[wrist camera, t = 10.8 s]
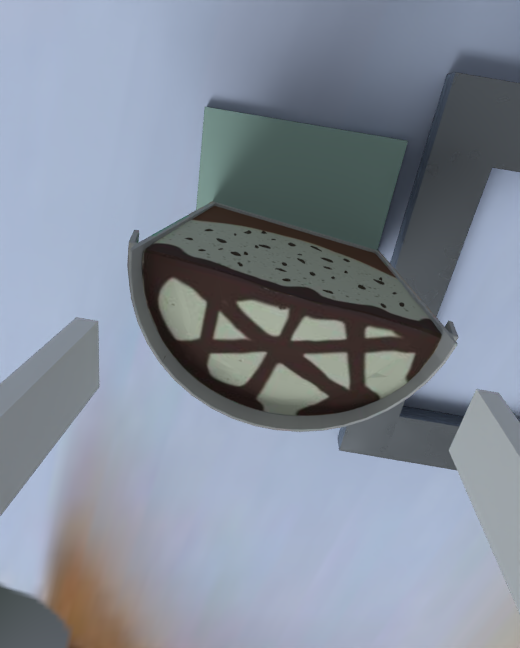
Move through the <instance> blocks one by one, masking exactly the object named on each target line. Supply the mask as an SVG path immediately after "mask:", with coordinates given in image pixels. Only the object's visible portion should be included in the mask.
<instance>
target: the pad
mask: <svg viewBox="0 0 520 648" xmlns="http://www.w3.org/2000/svg"><path fill="white" fill-rule="evenodd" d="M407 143H408V141H405V140H400V139H394V138H388V137H382V136H376V135H370V134H364V133H358V132H352V131H346V130H340V129H334V128H328V127H323V126H317V125H311V124H305V123H299V122H293V121H287V120H281V119H275V118H269V117H263V116H257V115H251V114H246V113H240V112H234V111H228V110H222V109H216V108H210V107H205V110H204V122H203V134H202V146H201V158H200V170H199V183H198V195H197V207H196V210H198V209H199V208H201V207H203V206H205V205H207V204H208V203H210V202H212V201H213V202H217V203H220V204H223V205H227V206H230V207H234V208H237V209H240V210H244V211H247V212H250V213H254V214H257V215H260V216H264V217H267V218H271V219H274V220H277V221H281V222H284V223H287V224H291V225H294V226H297V227H301V228H304V229H308V230H311V231H314V232H318V233H321V234H324V235H328V236H331V237H334V238H338V239H341V240H345V241H348V242H351V243H355V244H358V245H361V246H365V247H368V248H371V249H375V250H377V249H378V246H379V242H380V239H381V235H382V232H383V228H384V224H385V221H386V217H387V214H388V210H389V207H390V203H391V200H392V196H393V193H394V189H395V185H396V182H397V178H398V175H399V171H400V168H401V164H402V161H403V157H404V154H405V150H406V146H407Z"/></svg>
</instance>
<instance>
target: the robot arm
mask: <svg viewBox="0 0 520 648" xmlns="http://www.w3.org/2000/svg"><path fill="white" fill-rule="evenodd" d="M98 388H99V337H98V321H95V320H89V319H84V318H78V317H76V318H75V319H74V320H73V321H72V322H70V323H69V324H68V325H67V326H66V327H65V328H64V329H62V330H61V331H60V332H59V333H58V334H57V335H56V336H54V337H53V338H52V339H51V340H50V341H49V342H48V343H46V344H45V345H44V346H43V347H42V348H41V349H39V350H38V351H37V352H36V353H35V354H34V355H33V356H31V357H30V358H29V359H28V360H27V361H26V362H25V363H23V364H22V365H21V366H20V367H19V368H18V369H17V370H15V371H14V372H13V373H12V374H11V375H10V376H9V377H7V378H6V379H5V380H4V381H3V382H2V383H0V516H1V515H2V514H3V512H4V511H5V510H6V508H7V507H8V506H9V504H10V503H11V502H12V500H13V499H14V498H15V497H16V495H17V494H18V493H19V491H20V490H21V489H22V487H23V486H24V485H25V483H26V482H27V481H28V480H29V478H30V477H31V476H32V474H33V473H34V472H35V470H36V469H37V468H38V466H39V465H40V464H41V463H42V461H43V460H44V459H45V457H46V456H47V455H48V453H49V452H50V451H51V449H52V448H53V447H54V446H55V444H56V443H57V442H58V440H59V439H60V438H61V436H62V435H63V434H64V432H65V431H66V430H67V429H68V427H69V426H70V425H71V423H72V422H73V421H74V419H75V418H76V417H77V415H78V414H79V413H80V412H81V410H82V409H83V408H84V406H85V405H86V404H87V402H88V401H89V400H90V398H91V397H92V396H93V395H94V393H95V392H96V391H97V389H98ZM449 452H450V455H451V457H452V459H453V462H454V464H455V466H456V468H457V471H458V473H459V475H460V478H461V480H462V482H463V485H464V487H465V489H466V492H467V494H468V496H469V498H470V501H471V503H472V505H473V508H474V510H475V512H476V515H477V517H478V519H479V521H480V524H481V526H482V528H483V531H484V533H485V535H486V538H487V540H488V542H489V544H490V547H491V549H492V551H493V554H494V556H495V558H496V561H497V563H498V565H499V568H500V570H501V572H502V574H503V577H504V579H505V581H506V584H507V586H508V588H509V591H510V593H511V595H512V597H513V600H514V602H515V604H516V607H517V609H518V611H519V614H520V422H519V421H518V419H517V418H516V416H515V415H514V413H513V412H512V411H511V409H510V408H509V406H508V405H507V404H506V402H505V401H504V399H503V398H502V397H501V395H500V394H499V393H496V392H491V391H485V390H480V389H476V391H475V393H474V396H473V398H472V400H471V402H470V404H469V407H468V409H467V411H466V413H465V415H464V418H463V420H462V422H461V424H460V427H459V429H458V431H457V433H456V435H455V438H454V440H453V442H452V444H451V446H450V449H449Z"/></svg>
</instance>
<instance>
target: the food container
mask: <svg viewBox="0 0 520 648" xmlns="http://www.w3.org/2000/svg"><path fill="white" fill-rule="evenodd" d="M138 240H139V231H138V230H134V232H133V234H132V236H131V238H130V241H129V248H128V276H129V286H130V293H131V300H132V303H133V307H134V311H135V314H136V318H137V322H138V324H139V326H140V328H141V331H142V333H143V335H144V337H145V340H146V342H147V344H148V345H149V347H150V349H151V350H152V352H153V353H154V355H155V356H156V358H157V360H158V361H159V363H160V364H161V365H162V366H163V367H164V369H165V370H166V371H167V372H168V373H169V374H170V375H171V377H172V378H173V379H174V380H175V381H176V382H177V383H178V384H179V385H181V386H182V387H183V388H184V389H185V390H186V391H187V392H189V393H190V394H191V395H192V396H193V397H195V398H196V399H198V400H200V401H201V402H203V403H204V404H206V405H207V406H209V407H210V408H212V409H214V410H216V411H218V412H220V413H222V414H224V415H226V416H228V417H230V418H233V419H236V420H239V421H242V422H244V423H247V424H250V425H253V426H258V427H263V428H268V429H273V430H282V431H295V432H304V431H323V430H328V429H334V428H340V427H345V426H349V425H352V424H355V423H358V422H362V421H365V420H368V419H370V418H372V417H374V416H377V415H379V414H381V413H383V412H386V411H388V410H390V409H391V408H393V407H394V406H396V405H398V404H399V403H401V402H403V401H404V400H406V399H407V398H409V397H410V396H411V395H413V394H414V393H415V392H416V391H417V390H419V389H420V388H421V387H422V386H423V385H425V384H426V383H427V382H428V381H429V380H430V379H431V378H432V377H433V376H434V375H435V373H436V372H437V371H438V370H439V369H440V368H441V367H442V366H443V365H444V364H445V362H446V361H447V359H448V358H449V356H450V355H451V353H452V352H453V350H454V349H455V347H456V346H457V342H456V340H457V339H458V335H457V332H456V330H455V327H454V324H453V322H451V321H448V322H447V324H446V325H445V327H444V326H443V325H442V323H441V322H440V321H439V320H438V319H437V318H436V316H435V315H434V314H433V313H432V312H431V311H430V309H429V308H428V307H427V306H426V305H425V304H424V303H423V301H422V300H421V299H420V298H419V297H418V296H417V294H416V293H415V292H414V291H413V290H412V289H411V287H410V286H409V285H408V284H407V283H406V282H405V280H404V279H403V278H402V277H401V276H400V275H399V273H398V272H397V271H396V270H395V269H394V268H393V267H392V265H391V264H390V263H389V262H388V261H387V260H386V258H385V257H384V256H383V255H382V254H381V253H380V251H378V250H375V249H371V248H368V247H365V246H361V245H358V244H355V243H351V242H348V241H345V240H341V239H338V238H334V237H331V236H328V235H324V234H321V233H318V232H314V231H311V230H308V229H304V228H301V227H297V226H294V225H291V224H287V223H284V222H281V221H277V220H274V219H271V218H267V217H264V216H260V215H257V214H254V213H250V212H247V211H244V210H240V209H237V208H234V207H230V206H227V205H223V204H220V203H217V202H213V201H212V202H210V203H208V204H207V205H205V206H203V207H201V208H199V209H198V210H196V211H194V212H192V213H191V214H189V215H187V216H185V217H183V218H182V219H180V220H178V221H176V222H175V223H173V224H171V225H169V226H167V227H166V228H164V229H162V230H160V231H159V232H157V233H155V234H153V235H151V236H150V237H148V238H146V239H144V240H143V241H141V242H139V243H138Z"/></svg>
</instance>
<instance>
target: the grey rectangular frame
mask: <svg viewBox="0 0 520 648" xmlns="http://www.w3.org/2000/svg"><path fill="white" fill-rule="evenodd" d="M492 168H498V169H504V170H510V171H516V172H520V83H515V82H510V81H504V80H498V79H492V78H486V77H480V76H474V75H468V74H462V73H456V72H455V73H451V74H447V76H446V79H445V83H444V86H443V89H442V93H441V96H440V99H439V103H438V106H437V109H436V113H435V116H434V119H433V123H432V126H431V129H430V133H429V136H428V139H427V143H426V146H425V149H424V153H423V156H422V159H421V163H420V166H419V169H418V173H417V176H416V179H415V183H414V186H413V189H412V193H411V196H410V199H409V203H408V206H407V209H406V213H405V216H404V219H403V223H402V226H401V229H400V233H399V236H398V239H397V242H396V246H395V249H394V252H393V256H392V259H391V262H390V264H391V265H392V267H393V268H394V269H395V270H396V271H397V272H398V273H399V275H400V276H401V277H402V278H403V279H404V280H405V282H406V283H407V284H408V285H409V286H410V287H411V289H412V290H413V291H414V292H415V293H416V294H417V296H418V297H419V298H420V299H421V300H422V301H423V303H424V304H425V305H426V306H427V307H428V308H429V309H430V311H431V312H432V313H433V314H434V315H435V316H437V314H438V311H439V308H440V306H441V303H442V300H443V298H444V295H445V292H446V290H447V287H448V284H449V282H450V279H451V276H452V273H453V271H454V268H455V265H456V263H457V260H458V257H459V255H460V252H461V249H462V247H463V244H464V241H465V239H466V236H467V233H468V231H469V228H470V225H471V223H472V220H473V217H474V215H475V212H476V209H477V206H478V204H479V201H480V198H481V196H482V193H483V190H484V188H485V185H486V182H487V180H488V177H489V174H490V172H491V169H492ZM404 402H405V400H404V401H403V402H401V403H399V404H398V405H396V406H394V407H393V408H391V409H390V410H388V411H386V412H383V413H381V414H379V415H377V416H374V417H372V418H370V419H368V420H365V421H362V422H358V423H355V424H352V425H349V426H345V427H341V429H340V432H339V435H338V444H339V450H340V451H346V452H352V453H358V454H364V455H370V456H376V457H381V458H387V459H393V460H399V461H405V462H411V463H417V464H423V465H429V466H435V467H441V468H447V469H453V470H457V468H456V466H455V464H454V462H453V459H452V457H451V455H450V452H449V449H450V446H451V444H452V442H453V440H454V438H455V435H456V433H457V431H458V429H459V427H460V424H461V422H462V420H463V418H464V416H458V415H452V414H446V413H440V412H434V411H428V410H422V409H416V408H410V407H405V406H403V405H404Z"/></svg>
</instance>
